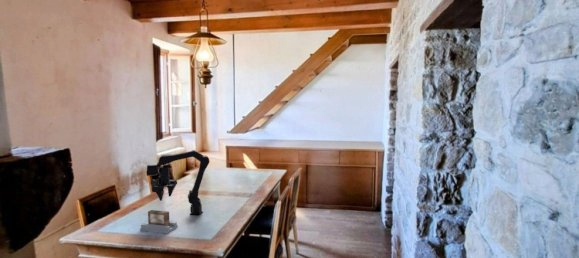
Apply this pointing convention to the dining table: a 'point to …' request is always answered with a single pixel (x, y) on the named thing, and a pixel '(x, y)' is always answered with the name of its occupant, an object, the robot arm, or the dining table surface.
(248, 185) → the dining table surface
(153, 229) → the display stand
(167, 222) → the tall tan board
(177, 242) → the dining table surface
